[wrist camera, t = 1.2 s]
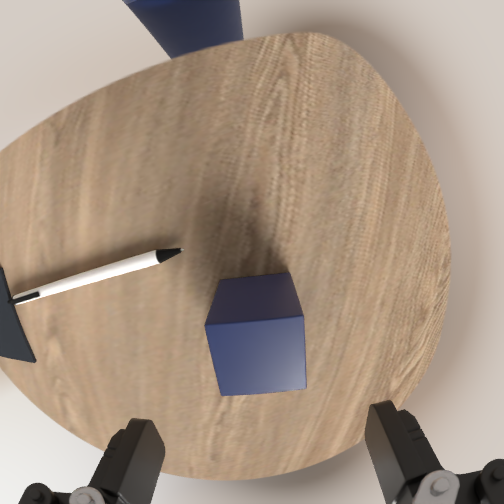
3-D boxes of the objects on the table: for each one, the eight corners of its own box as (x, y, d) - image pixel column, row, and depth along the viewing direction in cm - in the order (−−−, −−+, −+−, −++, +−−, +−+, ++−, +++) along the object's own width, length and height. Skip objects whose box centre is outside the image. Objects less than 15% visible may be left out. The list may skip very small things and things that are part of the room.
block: (219, 279, 18) (203, 324, 13) (290, 271, 18) (303, 314, 12) (230, 339, 20) (220, 396, 14) (294, 332, 19) (306, 389, 14)
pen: (9, 296, 19) (2, 300, 18) (183, 240, 18) (178, 244, 17) (13, 304, 20) (6, 309, 19) (187, 254, 18) (183, 259, 17)
